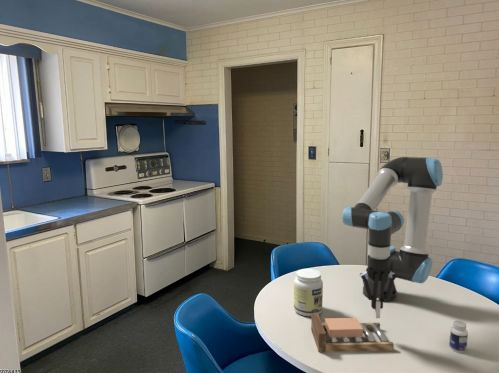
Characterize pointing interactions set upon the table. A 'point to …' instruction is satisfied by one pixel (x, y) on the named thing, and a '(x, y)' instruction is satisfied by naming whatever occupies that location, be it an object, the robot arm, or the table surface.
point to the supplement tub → (308, 292)
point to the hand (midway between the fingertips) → (376, 316)
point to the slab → (343, 327)
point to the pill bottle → (458, 337)
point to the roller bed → (366, 334)
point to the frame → (322, 346)
